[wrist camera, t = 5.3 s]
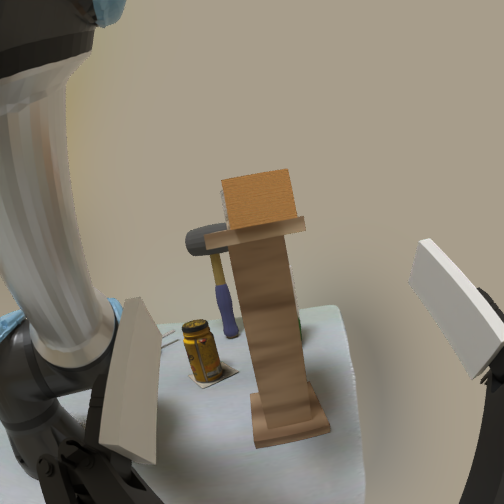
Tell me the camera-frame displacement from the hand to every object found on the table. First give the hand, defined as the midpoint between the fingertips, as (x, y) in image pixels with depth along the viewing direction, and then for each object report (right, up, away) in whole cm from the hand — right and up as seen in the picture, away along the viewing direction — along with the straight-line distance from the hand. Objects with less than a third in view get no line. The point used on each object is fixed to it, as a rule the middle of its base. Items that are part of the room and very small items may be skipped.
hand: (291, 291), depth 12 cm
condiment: (-10, -24, +41) cm, 48 cm away
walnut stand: (+3, -22, +24) cm, 33 cm away
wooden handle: (-2, +4, +15) cm, 15 cm away
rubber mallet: (-7, -21, +60) cm, 64 cm away
